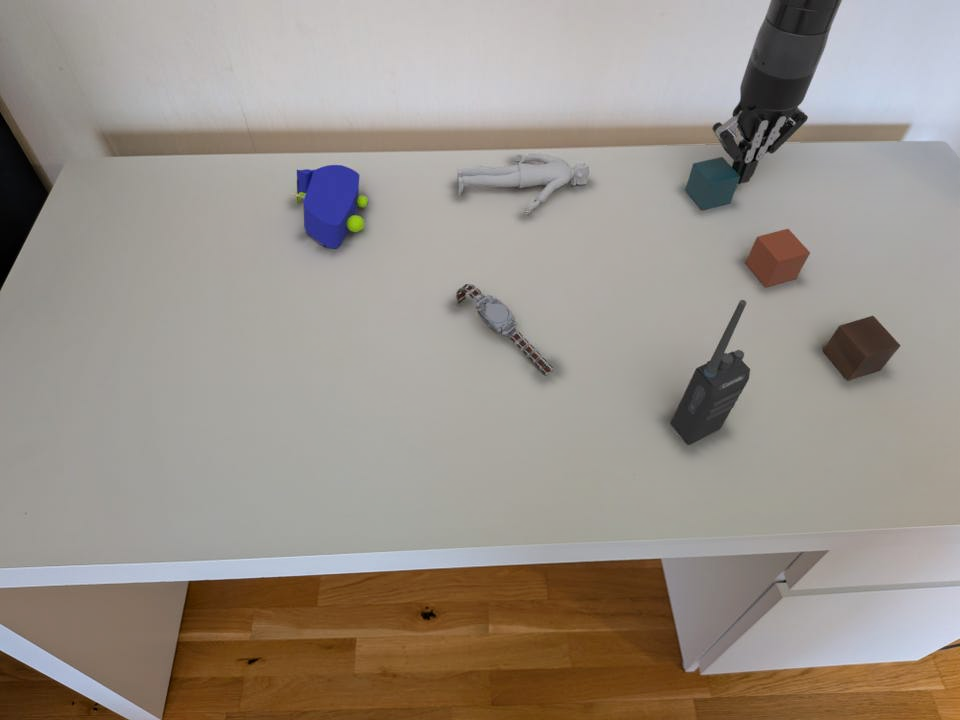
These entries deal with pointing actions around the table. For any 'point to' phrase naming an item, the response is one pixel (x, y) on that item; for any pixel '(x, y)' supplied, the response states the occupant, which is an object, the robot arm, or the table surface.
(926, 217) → the table surface
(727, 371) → the walkie-talkie
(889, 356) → the walnut block
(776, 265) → the terracotta block
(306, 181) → the toy
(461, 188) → the figurine
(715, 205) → the teal block
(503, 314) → the wristwatch
